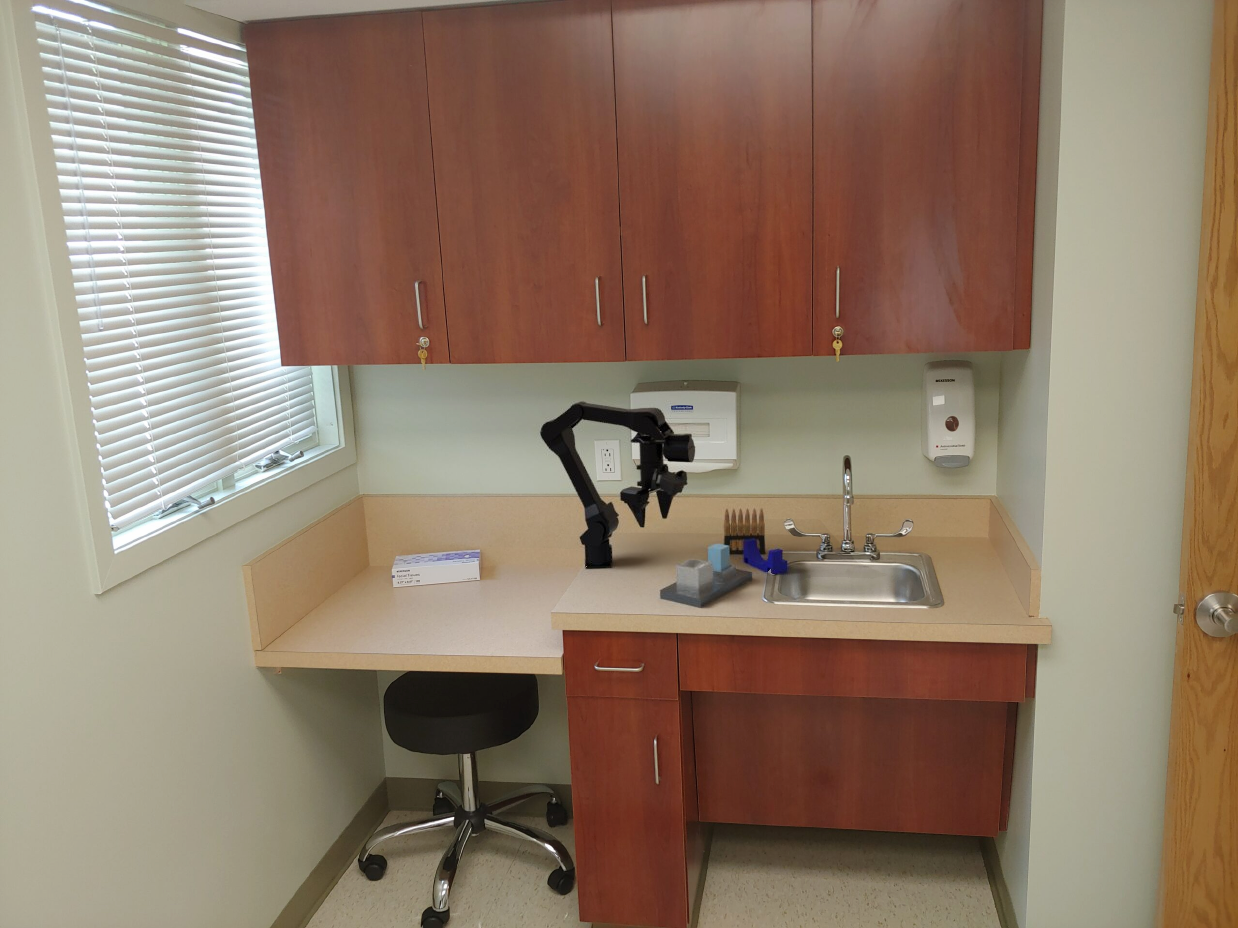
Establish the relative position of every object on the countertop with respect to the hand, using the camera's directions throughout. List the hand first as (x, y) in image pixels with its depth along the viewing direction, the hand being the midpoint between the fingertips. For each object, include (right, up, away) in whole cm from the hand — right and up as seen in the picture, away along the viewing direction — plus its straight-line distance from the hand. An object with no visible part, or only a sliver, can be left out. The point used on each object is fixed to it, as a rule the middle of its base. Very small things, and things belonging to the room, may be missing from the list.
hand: (653, 522), depth 240 cm
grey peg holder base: (+12, -15, -12) cm, 23 cm away
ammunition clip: (+24, -9, +13) cm, 29 cm away
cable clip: (+28, -11, +2) cm, 30 cm away
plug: (+15, -12, -9) cm, 21 cm away
